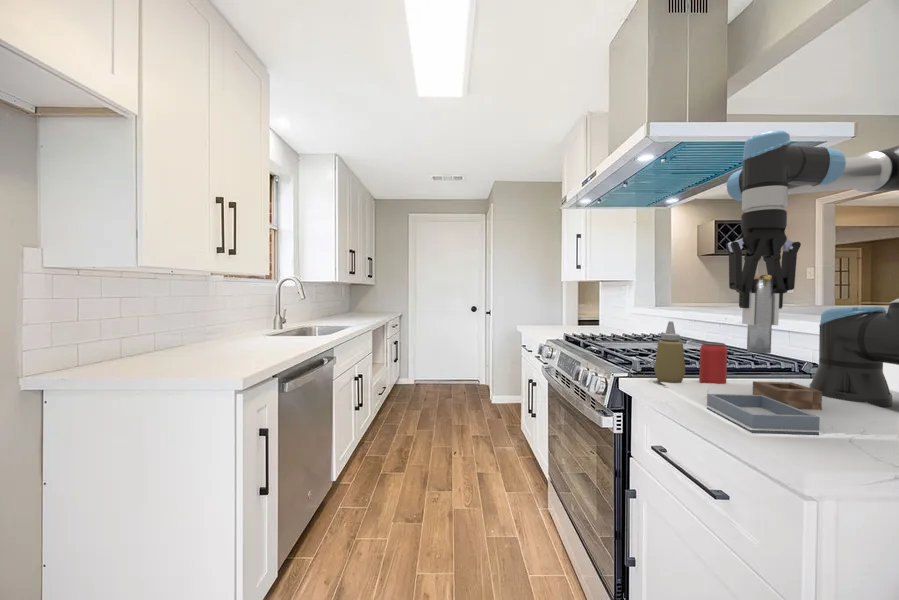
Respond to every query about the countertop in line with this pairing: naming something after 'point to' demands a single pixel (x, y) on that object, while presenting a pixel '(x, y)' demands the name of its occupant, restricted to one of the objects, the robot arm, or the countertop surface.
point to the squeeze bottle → (670, 357)
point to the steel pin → (761, 315)
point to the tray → (784, 419)
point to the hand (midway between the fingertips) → (759, 324)
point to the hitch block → (790, 394)
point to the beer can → (713, 363)
